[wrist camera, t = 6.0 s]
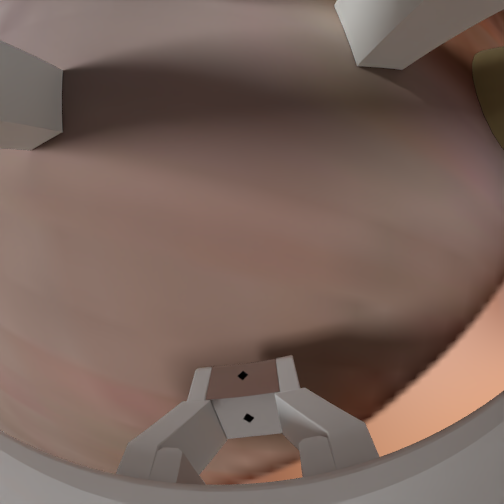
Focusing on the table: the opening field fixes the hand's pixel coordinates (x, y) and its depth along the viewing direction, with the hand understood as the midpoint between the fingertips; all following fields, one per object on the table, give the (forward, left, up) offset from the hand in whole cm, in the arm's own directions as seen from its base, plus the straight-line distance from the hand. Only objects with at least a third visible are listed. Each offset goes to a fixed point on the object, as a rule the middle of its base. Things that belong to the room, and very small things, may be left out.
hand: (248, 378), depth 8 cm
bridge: (-11, 0, -2) cm, 11 cm away
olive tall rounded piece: (-9, +15, -2) cm, 18 cm away
